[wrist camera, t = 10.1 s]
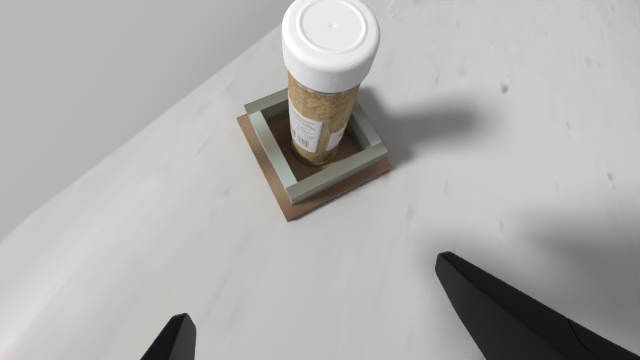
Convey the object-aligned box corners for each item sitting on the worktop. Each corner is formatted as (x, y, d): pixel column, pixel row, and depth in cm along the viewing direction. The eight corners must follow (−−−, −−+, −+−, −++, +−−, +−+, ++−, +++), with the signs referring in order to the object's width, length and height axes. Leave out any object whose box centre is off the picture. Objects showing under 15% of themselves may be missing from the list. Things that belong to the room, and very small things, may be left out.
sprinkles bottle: (345, 158, 24) (399, 53, 11) (299, 173, 23) (300, 79, 10) (328, 116, 25) (360, -24, 12) (283, 129, 24) (267, -6, 11)
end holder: (388, 169, 25) (404, 156, 21) (287, 221, 23) (285, 216, 19) (335, 81, 27) (341, 55, 23) (238, 122, 25) (227, 100, 21)
